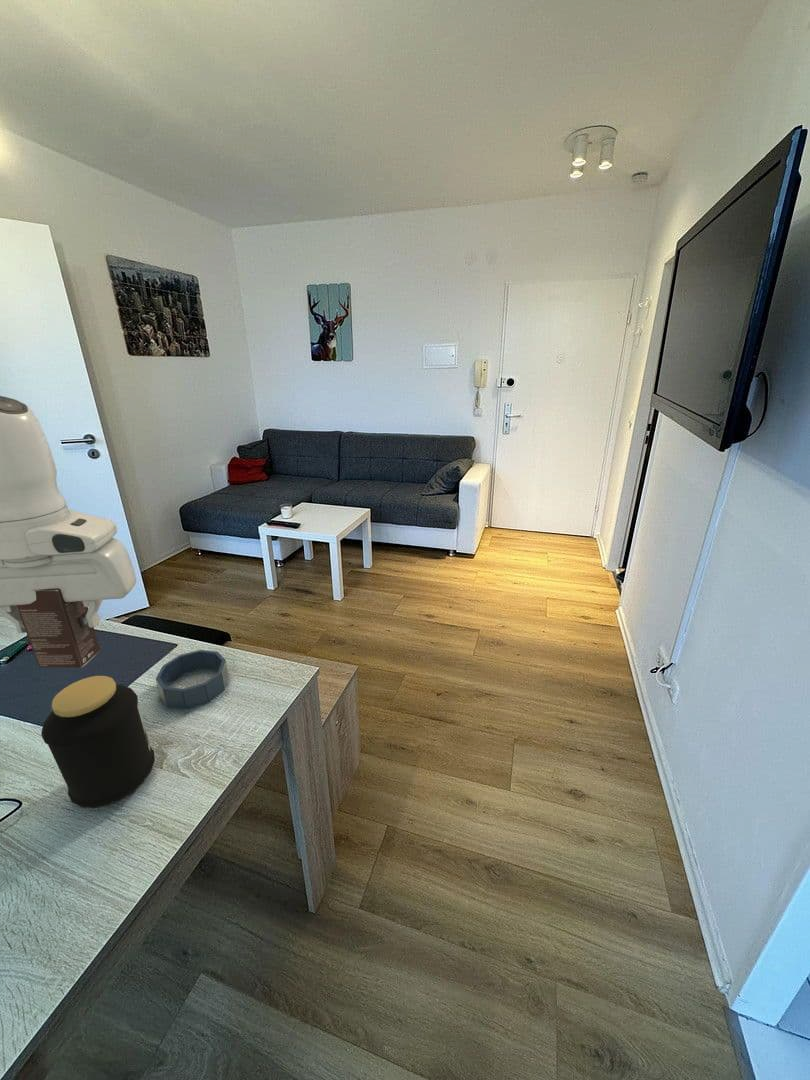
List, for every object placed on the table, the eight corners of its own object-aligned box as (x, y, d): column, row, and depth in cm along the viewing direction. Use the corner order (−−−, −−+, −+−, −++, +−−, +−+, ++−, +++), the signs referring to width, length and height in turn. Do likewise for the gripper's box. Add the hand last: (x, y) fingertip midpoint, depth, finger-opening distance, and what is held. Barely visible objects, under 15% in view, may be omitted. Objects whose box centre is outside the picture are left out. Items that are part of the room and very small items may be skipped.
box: (102, 649, 63) (80, 575, 58) (81, 669, 58) (55, 591, 54) (60, 648, 62) (35, 574, 58) (36, 669, 58) (6, 591, 54)
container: (65, 776, 70) (30, 688, 63) (148, 738, 77) (125, 655, 70) (73, 834, 61) (33, 739, 55) (165, 785, 69) (140, 696, 62)
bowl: (151, 713, 83) (146, 694, 81) (173, 669, 95) (169, 652, 93) (219, 705, 85) (216, 687, 83) (232, 663, 97) (230, 647, 95)
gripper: (-93, 547, 49) (-46, 648, 54) (106, 538, 52) (132, 635, 57) (-48, 527, 54) (-11, 621, 60) (128, 521, 58) (149, 610, 63)
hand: (60, 627), depth 58 cm, fingers closed on box, 6 cm apart
